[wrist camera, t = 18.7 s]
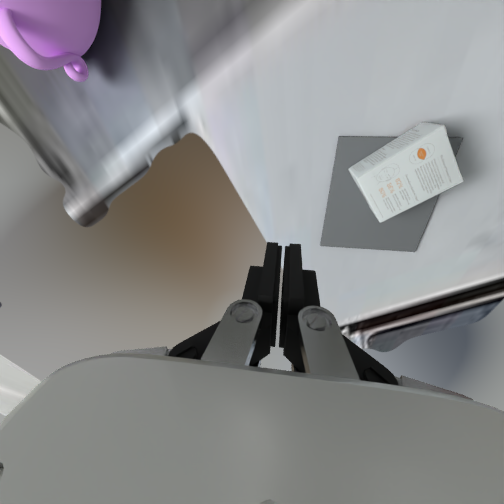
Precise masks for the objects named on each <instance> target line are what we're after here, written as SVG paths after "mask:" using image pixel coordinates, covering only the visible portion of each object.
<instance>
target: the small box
mask: <svg viewBox="0 0 504 504" xmlns="http://www.w3.org/2000/svg"><path fill="white" fill-rule="evenodd" d="M348 170H349V172H350V174H351V176H352V177H353V179H354V181H355V182H356V184H357V186H358V187H359V189H360V191H361V193H362V194H363V196H364V198H365V199H366V201H367V203H368V205H369V207H370V209H371V210H372V212H373V213H374V215H375V216H376V218H377V219H378V221H379V222H380V223H381V222H383V221H386V220H388V219H389V218H391V217H393V216H395V215H397V214H399V213H401V212H403V211H406V210H407V209H410V208H411V207H414V206H415V205H418V204H420V203H422V202H424V201H426V200H428V199H430V198H432V197H434V196H436V195H438V194H440V193H442V192H444V191H446V190H448V189H450V188H452V187H454V186H456V185H458V184H460V183H462V182H463V181H464V180H463V177H462V175H461V173H460V171H459V168H458V165H457V162H456V159H455V156H454V154H453V151H452V148H451V145H450V142H449V138H448V135H447V130H446V126H445V125H441V124H434V123H428V122H422V123H420V124H418V125H417V126H415V127H414V128H412V129H410V130H409V131H407V132H406V133H404V134H402V135H401V136H399V137H398V138H396V139H394V140H393V141H391V142H390V143H388V144H386V145H385V146H383V147H382V148H380V149H378V150H377V151H375V152H374V153H372V154H370V155H369V156H367V157H366V158H364V159H362V160H361V161H359V162H358V163H356V164H355V165H353V166H351V167H350V168H349V169H348Z"/></svg>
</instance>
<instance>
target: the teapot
mask: <svg viewBox="0 0 504 504" xmlns="http://www.w3.org/2000/svg"><path fill="white" fill-rule="evenodd" d="M100 15H101V0H0V44H1V45H2V46H4V47H6V48H8V49H10V50H11V51H12V52H13V53H14V54H15V55H16V56H17V57H18V58H19V59H20V60H22V61H23V62H24V63H26V64H27V65H29V66H31V67H33V68H36V69H40V70H52V69H56V68H59V67H62V66H64V69H65V71H66V73H67V74H68V75H69V76H70V77H71V78H72V79H73V80H75V81H79V82H82V81H85V80H86V79H87V78H88V68H87V65H86V63H85V61H84V60H83V59H82V58H81V56H82V55H83V54H85V52H86V51H87V50H88V49H89V48H90V46H91V45H92V43H93V41H94V39H95V36H96V34H97V31H98V27H99V23H100Z"/></svg>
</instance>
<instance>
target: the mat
mask: <svg viewBox="0 0 504 504" xmlns="http://www.w3.org/2000/svg"><path fill="white" fill-rule="evenodd" d="M396 138H398V137H349V136H339V138H338V144H337V150H336V156H335V161H334V167H333V173H332V179H331V185H330V191H329V197H328V203H327V208H326V214H325V220H324V226H323V232H322V238H321V244H320V245H321V246H329V247H345V248H361V249H377V250H392V251H408V252H415V251H416V248H417V246H418V243H419V241H420V239H421V236H422V234H423V232H424V229H425V227H426V225H427V222H428V220H429V218H430V215H431V213H432V211H433V208H434V206H435V203H436V201H437V199H438V196H439V194H438V195H436V196H434V197H432V198H430V199H428V200H426V201H424V202H422V203H420V204H418V205H415V206H414V207H411V208H410V209H407V210H406V211H403V212H401V213H399V214H397V215H395V216H393V217H391V218H389V219H388V220H386V221H383V222H381V223H380V222H379V221H378V219H377V218H376V216H375V215H374V213H373V212H372V210H371V209H370V207H369V205H368V203H367V201H366V199H365V198H364V196H363V194H362V193H361V191H360V189H359V187H358V186H357V184H356V182H355V181H354V179H353V177H352V176H351V174H350V172H349V170H348V169H349V168H350V167H351V166H353V165H355V164H356V163H358V162H359V161H361V160H362V159H364V158H366V157H367V156H369V155H370V154H372V153H374V152H375V151H377V150H378V149H380V148H382V147H383V146H385V145H386V144H388V143H390V142H391V141H393V140H394V139H396ZM448 138H449V142H450V145H451V148H452V151H453V154H454V156H456V154H457V152H458V149H459V147H460V145H461V142H462V140H463V138H456V137H448Z"/></svg>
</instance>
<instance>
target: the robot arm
mask: <svg viewBox="0 0 504 504" xmlns="http://www.w3.org/2000/svg"><path fill="white" fill-rule="evenodd" d="M281 253H282V246H278V243H272V242H267V248H266V253H265V259H264V265H263V267H259V266H250V269H249V273H248V277H247V281H246V285H245V289H244V293H243V297H242V300H238V301H235V302H234V303H232V304H230V306H229V307H228V308H227V310H226V312H225V314H224V316H223V318H222V320H221V321H219V322H217V323H216V324H214V325H212V326H210V327H208V328H206V329H205V330H203V331H201V332H199V333H197V334H195V335H194V336H192V337H190V338H188V339H186V340H184V341H183V342H181V343H179V344H178V345H176V346H175V347H174V348H173V349H167V347H157V348H146V349H135V350H124V351H117V352H113V353H111V354H107V355H99V356H94V357H90V358H85V359H82V360H79V361H75V362H73V363H70V364H68V365H65V366H63V367H61V368H60V369H58V370H56V371H55V372H53V373H52V374H50V375H49V376H48V377H47V378H46V379H44V380H43V381H42V382H41V383H40V384H38V385H37V386H36V387H35V388H34V389H33V390H32V391H31V392H30V393H29V394H28V395H27V396H26V397H25V398H24V399H23V400H22V401H21V402H20V403H19V404H18V405H17V406H16V407H15V408H14V409H13V410H12V411H11V412H10V413H9V414H8V415H7V416H6V417H5V418H4V419H3V421H2V422H1V423H0V504H504V411H502V410H499V409H497V408H495V407H491V406H489V405H485V404H483V403H480V402H477V401H474V400H473V399H471V398H468V397H466V396H464V395H461V394H458V393H455V392H452V391H449V390H445V389H443V388H439V387H436V386H433V385H430V384H427V383H424V382H421V381H418V380H414V379H411V378H408V377H405V376H401V377H400V378H398V377H395V376H394V375H393V374H392V373H391V372H390V371H389V370H388V369H387V368H385V367H384V366H383V365H382V364H380V363H379V362H378V361H376V360H375V359H374V358H372V357H371V356H370V355H369V354H367V353H366V352H365V351H363V350H362V349H361V348H359V347H358V346H357V345H356V344H354V343H353V342H352V341H350V340H349V339H348V338H346V337H345V336H344V335H342V334H341V331H340V329H339V326H338V324H337V321H336V319H335V317H334V315H333V314H332V313H331V312H330V311H328V310H327V309H325V308H323V307H320V300H319V293H318V286H317V279H316V273H315V271H313V270H302V257H301V244H290V246H285V257H284V269H283V283H282V298H281V317H280V337H279V347H281V348H284V352H283V353H284V354H283V355H284V356H285V357H286V358H287V359H288V360H289V361H290V362H291V363H292V364H291V366H292V367H291V369H292V371H284V370H277V369H268V368H261V367H260V365H261V359H262V358H264V357H265V356H267V355H268V354H270V346H273V347H275V341H276V326H277V313H278V299H279V284H280V268H281Z"/></svg>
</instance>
